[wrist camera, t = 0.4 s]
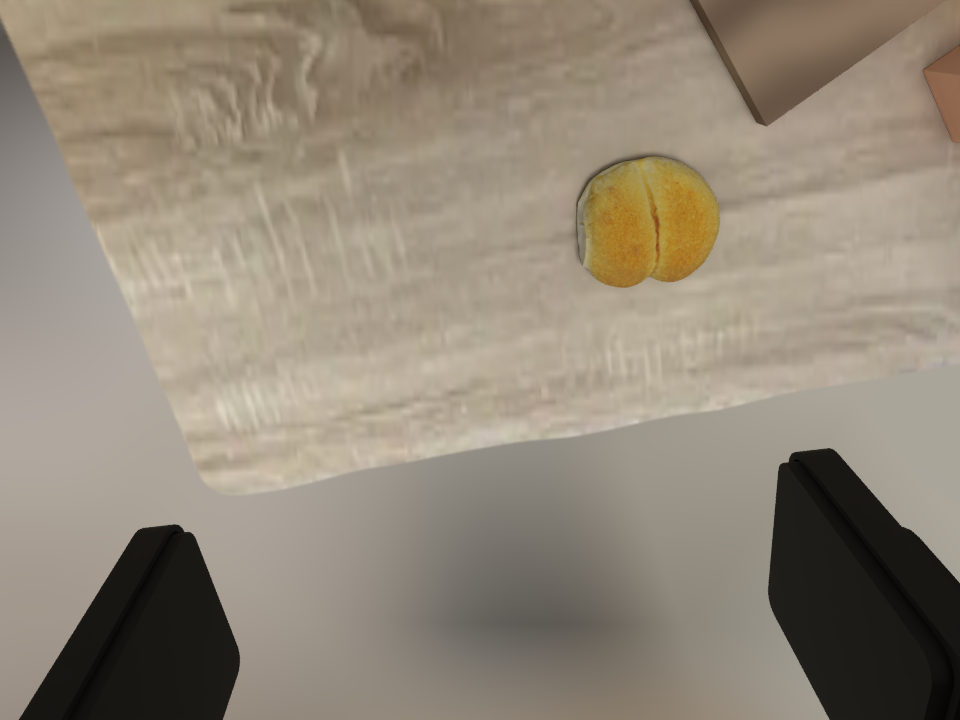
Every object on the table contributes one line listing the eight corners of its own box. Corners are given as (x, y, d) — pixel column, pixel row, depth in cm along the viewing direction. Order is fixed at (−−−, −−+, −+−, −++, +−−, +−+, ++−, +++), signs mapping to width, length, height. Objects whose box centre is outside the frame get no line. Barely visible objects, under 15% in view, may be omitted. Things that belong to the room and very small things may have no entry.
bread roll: (708, 269, 47) (729, 290, 44) (578, 283, 48) (587, 306, 44) (714, 145, 44) (737, 157, 40) (572, 161, 44) (583, 175, 40)
